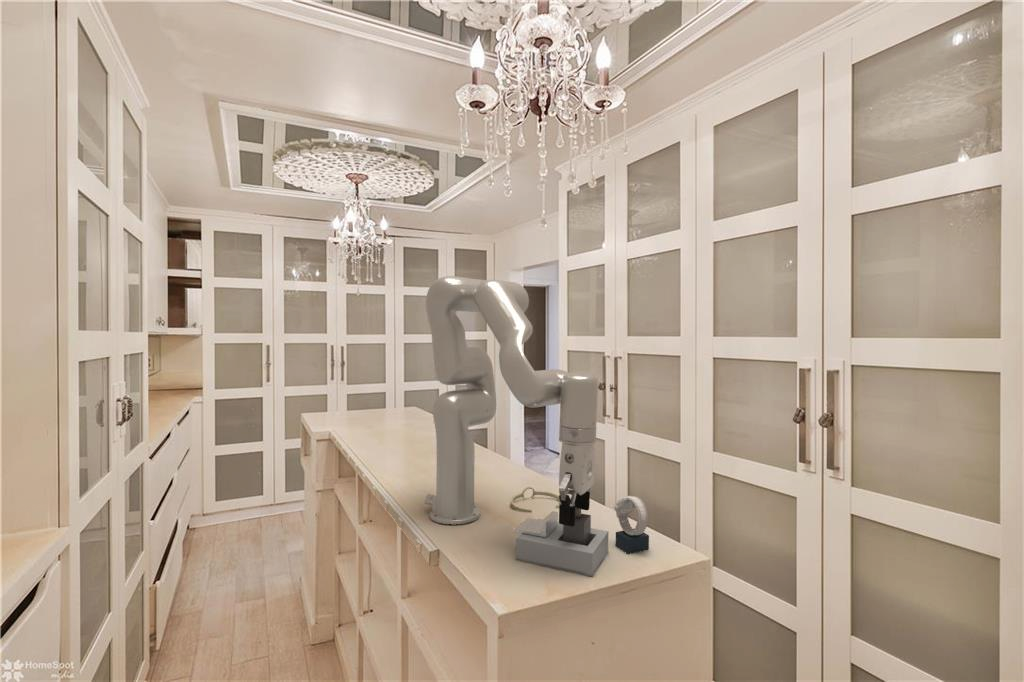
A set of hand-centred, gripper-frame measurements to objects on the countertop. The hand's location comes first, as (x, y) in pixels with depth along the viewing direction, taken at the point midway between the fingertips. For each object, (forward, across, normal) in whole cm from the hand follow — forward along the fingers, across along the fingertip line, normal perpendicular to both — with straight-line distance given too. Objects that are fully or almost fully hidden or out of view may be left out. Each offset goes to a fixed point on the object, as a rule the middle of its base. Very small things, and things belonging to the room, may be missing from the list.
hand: (574, 516), depth 104 cm
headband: (+10, +27, +19) cm, 34 cm away
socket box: (+9, 0, +2) cm, 9 cm away
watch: (+9, +10, -10) cm, 17 cm away
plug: (+8, 0, -1) cm, 8 cm away
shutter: (+4, 0, +8) cm, 9 cm away
